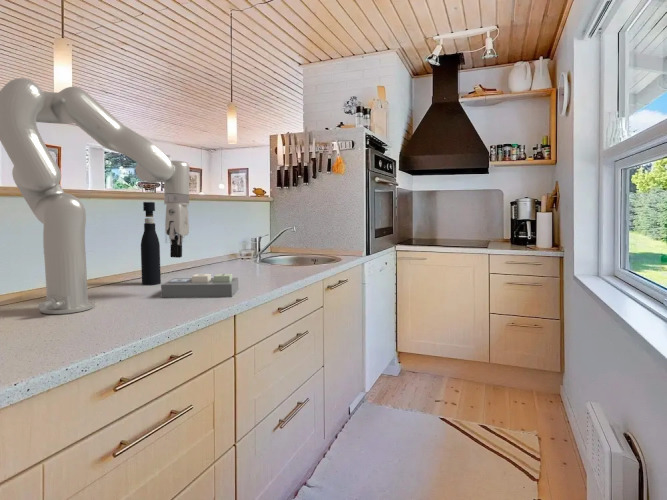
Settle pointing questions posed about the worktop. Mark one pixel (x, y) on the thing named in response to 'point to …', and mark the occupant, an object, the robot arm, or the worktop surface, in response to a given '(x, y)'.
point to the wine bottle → (150, 249)
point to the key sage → (222, 278)
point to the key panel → (199, 289)
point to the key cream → (201, 278)
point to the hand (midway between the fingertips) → (176, 257)
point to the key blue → (180, 281)
